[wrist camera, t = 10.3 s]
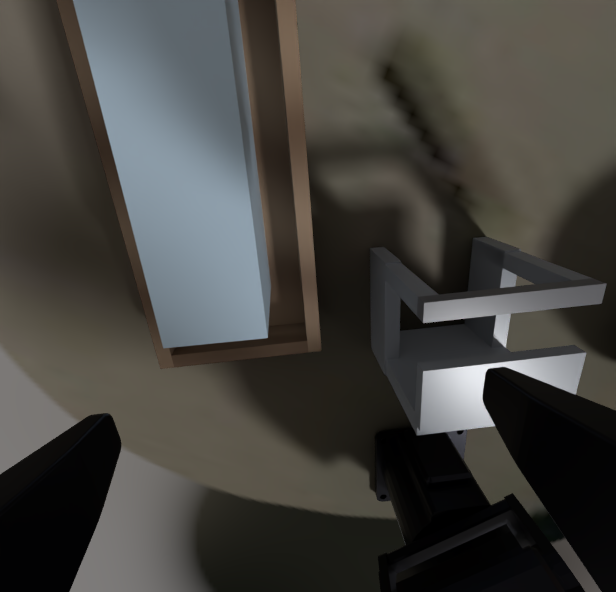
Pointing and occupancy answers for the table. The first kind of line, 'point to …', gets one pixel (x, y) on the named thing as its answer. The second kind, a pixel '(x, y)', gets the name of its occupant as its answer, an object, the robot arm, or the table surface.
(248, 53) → the tray
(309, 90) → the table surface
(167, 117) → the pale blue rectangular pillar
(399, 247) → the table surface
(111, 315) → the table surface
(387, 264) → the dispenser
